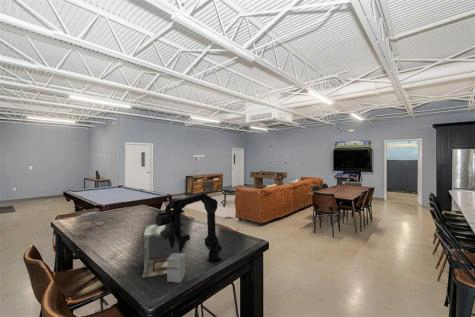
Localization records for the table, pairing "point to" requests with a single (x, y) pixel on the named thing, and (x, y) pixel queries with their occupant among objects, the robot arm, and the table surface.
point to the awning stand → (150, 266)
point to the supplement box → (175, 267)
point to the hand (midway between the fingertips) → (176, 250)
